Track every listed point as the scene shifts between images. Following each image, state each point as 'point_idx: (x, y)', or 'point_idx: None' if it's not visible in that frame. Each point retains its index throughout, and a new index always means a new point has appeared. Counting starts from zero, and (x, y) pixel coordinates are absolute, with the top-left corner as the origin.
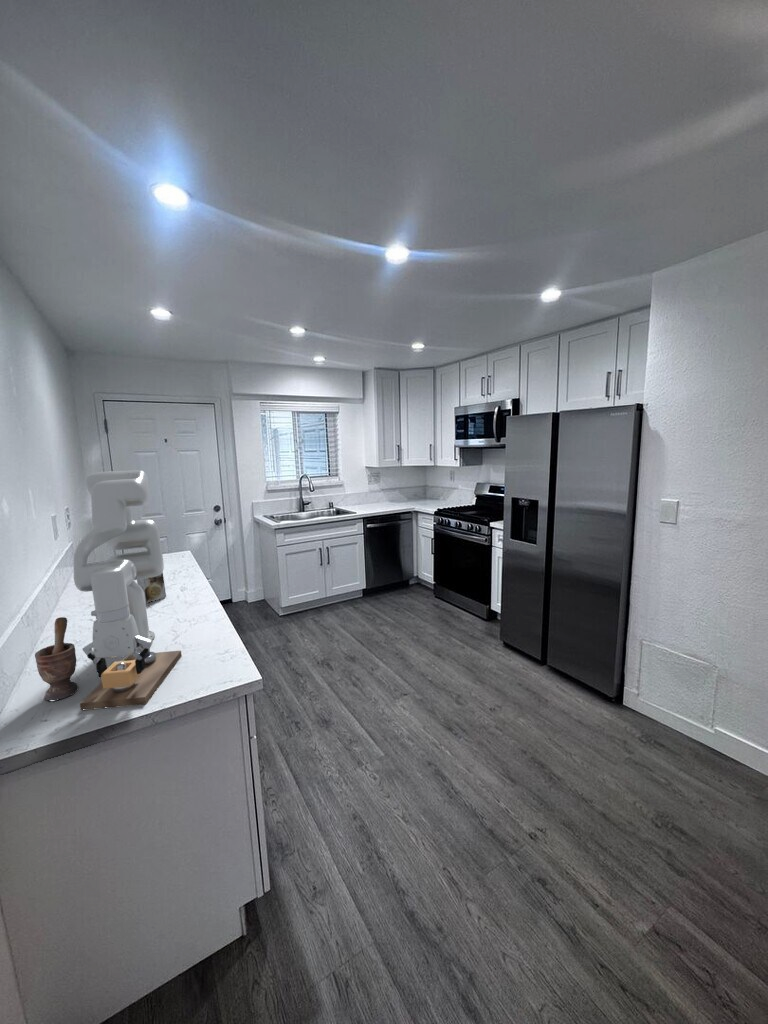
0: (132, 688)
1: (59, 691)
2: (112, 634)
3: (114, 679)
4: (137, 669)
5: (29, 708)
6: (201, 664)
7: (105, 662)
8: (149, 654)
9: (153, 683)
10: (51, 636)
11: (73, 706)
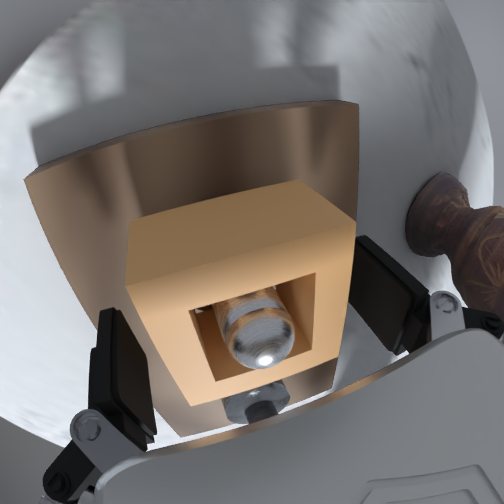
0: None
1: (448, 199)
2: None
3: (241, 222)
4: (105, 333)
5: (469, 145)
6: (73, 403)
7: (380, 333)
8: (246, 416)
9: (85, 293)
10: None
11: (379, 136)
